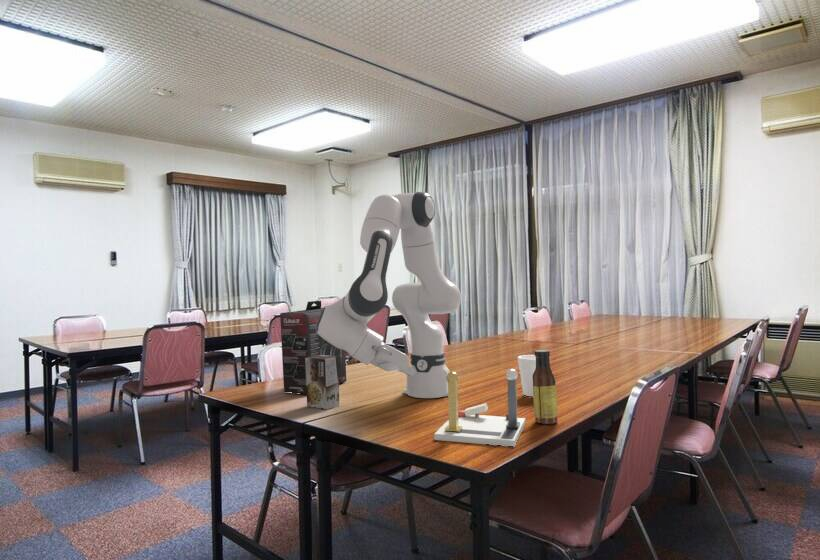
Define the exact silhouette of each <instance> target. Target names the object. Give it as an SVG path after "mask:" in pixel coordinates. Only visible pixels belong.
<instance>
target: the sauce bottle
mask: <svg viewBox="0 0 820 560" xmlns="http://www.w3.org/2000/svg"><path fill="white" fill-rule="evenodd" d="M550 352H551V351H550V350H548V349H536V350H534V355H535V357H536V369H535V371H534V373H533V376H532V377H533V413H534V419H535V422H536V423H537V422H538V423H537V424H540V423H542V424H541V425H546V424H547V425H548V424H549V425H554V423H555V424H557V423H558V416H559V415H558V413H559V412H558V401H557V386H556V385H557V384H556V379H555V376H554V374H553V372H552V371H553V370H552V368H551V364H550V355H551V353H550Z"/></svg>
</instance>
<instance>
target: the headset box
mask: <svg viewBox="0 0 820 560" xmlns="http://www.w3.org/2000/svg"><path fill="white" fill-rule="evenodd" d="M314 304H315V305H314ZM323 308H324V307H322V300H312V301H307V304H306V307H305V310H304V309H301V310H296V311H295V310H294V311H286V312H280V313H279V316H280V334H281V335H280V337H281V341H280V342H281V357H282V378H283V379H282V381H283V393H284V392H292V393H300V394H299V395H301V394H307V389H306V364H305V358H306V357H310V356H314V355H329V356H338V374H339V385H340V384H344V383H345V382H347V366H346V365H347V363H346V362H347V361H346V351H345V350H342V349H338V348H337V347H335V346H333V345H332V344H330V343H329V342H327V341H326V340H324V339H323V338H322V337H321V336H319V335H318V333H317V332H316V323H317V320H318V317H319V315H320V313H321V311H322V309H323Z"/></svg>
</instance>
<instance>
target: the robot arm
mask: <svg viewBox="0 0 820 560" xmlns="http://www.w3.org/2000/svg"><path fill="white" fill-rule="evenodd" d="M435 214H436V206H435V202H434V199H433V197H432V196H431V195H430V194H429V193H427V192H424V191H416V192H404V193H402V192H401V193H398V194H392V195H390V194H380V195H378V196H376V197H375V198H374V199H373V200H372V202H371V204H370V206H369V208H368V210H367V212H366V214H365V217H364V220H363V223H362V226H361V231H360V240H359V244H360V246H361V248H362V249H363V250H364V251H365V252H366V256H365V259H364V264H363V268H362V272H361V274H360V275H359V276H358V277H357V278H356V279H355V280H354V281H353V283H352V284H351V286H350V288H349V290H348V292H347V293H346V295H345V296H343V297H342V298H340V299H339V300H337V301H335V302H334V303H332V304H330V305H326V306H324V307H322V308H323V309H322V311H321V313H320V315H319V317H318V320H317V323H316V332H317V333H318V335H319V336H321V337H322V338H323V339H324V340H326V341H327V342H329V343H330V344H332V345H333V346H335V347H337V348H338V349H342V350H345V353H347V354H348V355H349V356H350V357H352V358H354V359H355V360H357V361H358V362H360V363H361V364H364V365H366V366H368V365H369V364H370V365H373V366H375V367H377V368H379V369H381V370H384V371H387V372H392V371H398V372H401V373H403V374H406V388H404V389H402V393H403V394H406V395H408V396H409V397H412V398H418V399H419V398H420V399H436V398H442V397H448V382H447V379H446V376H447V374H448V373H449V372H451V371H450V369H449V368H448V366H447V365H446V356H447V355H446V351H445V352H444V338H443V336H444V334H443V331H442V329H441V328H440V327H439V326H438V325H436V324H434V323H433V321H431V319H430V316H429V315H445V314H450V313H454V312H456V311H457V310H458V309H459V308H460V306H461V304H462V303H461V302H462V294H461V290H460V289H459V287H458V286H457V285H456V284H455V283H453V282H451V281H450V280H449V278H448V277H447V276H446V275H445V274H444V273H443V270H442V269H441V267H440V265H439V262H438V256H437V251H436V245H435V240H434V238H435V237H434V233H433V230H432V226H431V222H432V221H433V220H434V217H435ZM399 234H400V238H401V239H400V240H401V246H402V248H401V249H402V253H403V260H404V266H405V268H406V270H407V271H408V272H409V273H411V274H412V275H415V276H416V278H417V279H418V280H419V282H407V283H403V284H400V285H397V286H396V287H395V288H394V290H393V292H392V295H391V300H392V301H391V302H392V305H393V308H394V309H395V310H396V311H397V312H399V313H400V314H401V316H402V318H404V319H405V322H406V323H407V325H408V326H407V327H408V330H409V334H410V342H411V343H410V344H411V345H410V346H411V347H410V348H411V350H410V351H411V353H410V357H409V356H408V355H407V354H405V353H404V352H402V351H400V350H398V349H396V348H395V347H393V346H390V345H388V344H387V343H386V342H384V339H385V338H384V336H383V335H381V334H379V333H378V332H376V331H374V330H373V329H371V328H369V327H368V326H367V324H368V323H369V322H370V321H371V320H372V319H373V318H374V317H375V316H376V315H377V314H379V312H380V311H383V309H384V308H385V306H386V304H387V302H388V299H389V298H388V296H389V294H388V288H387V281H386V280H387V272H388V266H389V261H390V257H391V253H392V252H393V250H394V248H395V246H396V243H397V240H398V238H399ZM409 360H410V365H409V364H408V362H409Z"/></svg>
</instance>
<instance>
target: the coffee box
mask: <svg viewBox="0 0 820 560" xmlns="http://www.w3.org/2000/svg"><path fill="white" fill-rule="evenodd" d="M305 364H306V389H307V395H306V407H307V406H311V407H310V408H314V407H316V409H321V408H323V410H329V408H330V409H333V408H336V407H339V406H340V384H339V374H338V356H329V355H314V356H310V357H306V358H305Z"/></svg>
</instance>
